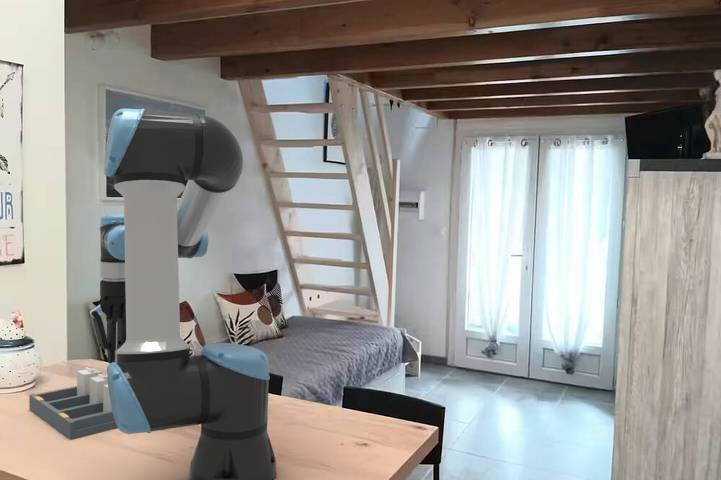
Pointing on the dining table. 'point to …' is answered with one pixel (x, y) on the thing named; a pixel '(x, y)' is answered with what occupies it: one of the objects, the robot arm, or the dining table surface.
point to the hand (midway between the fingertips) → (116, 375)
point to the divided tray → (71, 412)
